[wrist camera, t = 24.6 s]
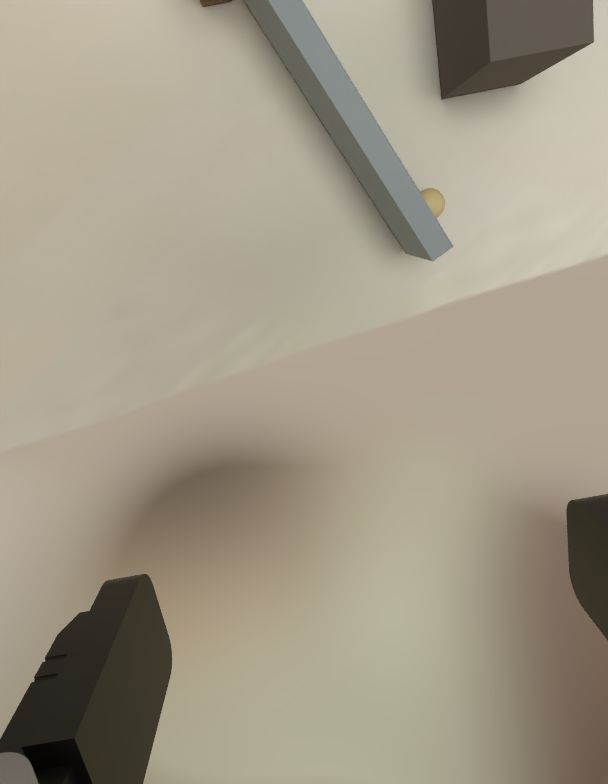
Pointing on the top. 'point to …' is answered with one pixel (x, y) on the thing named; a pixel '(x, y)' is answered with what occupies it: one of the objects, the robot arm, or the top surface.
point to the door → (353, 127)
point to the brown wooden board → (212, 2)
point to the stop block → (505, 40)
